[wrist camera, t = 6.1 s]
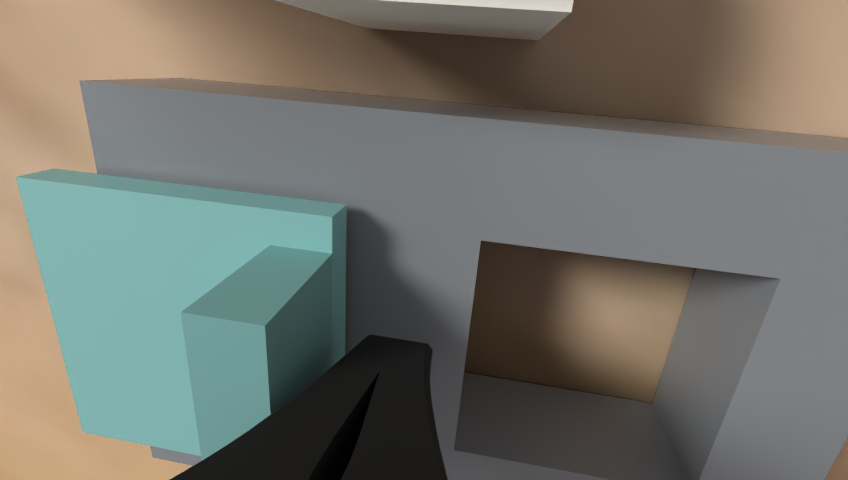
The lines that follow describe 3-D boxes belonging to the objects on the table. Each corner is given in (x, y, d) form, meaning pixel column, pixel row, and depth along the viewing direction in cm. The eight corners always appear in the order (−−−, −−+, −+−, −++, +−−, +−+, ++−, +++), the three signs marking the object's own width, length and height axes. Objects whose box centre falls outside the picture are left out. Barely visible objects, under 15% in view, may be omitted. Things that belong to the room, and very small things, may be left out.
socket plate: (713, 478, 13) (767, 584, 11) (215, 387, 15) (152, 456, 13) (855, 138, 10) (995, 166, 7) (179, 77, 12) (79, 80, 9)
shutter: (344, 455, 11) (283, 602, 8) (109, 409, 12) (-28, 527, 9) (347, 204, 9) (261, 277, 6) (53, 168, 9) (-160, 216, 6)
